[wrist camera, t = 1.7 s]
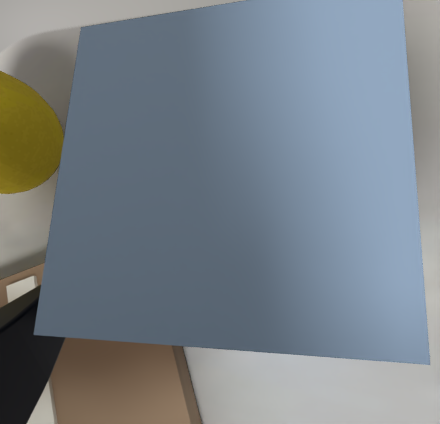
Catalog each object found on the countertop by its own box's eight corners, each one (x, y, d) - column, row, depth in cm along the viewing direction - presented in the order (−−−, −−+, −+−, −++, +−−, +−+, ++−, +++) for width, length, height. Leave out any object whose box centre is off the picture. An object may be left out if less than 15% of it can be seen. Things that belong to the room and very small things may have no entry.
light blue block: (356, 329, 16) (429, 365, 4) (237, 322, 18) (33, 334, 6) (352, 211, 18) (400, -25, 5) (241, 213, 19) (80, 27, 7)
